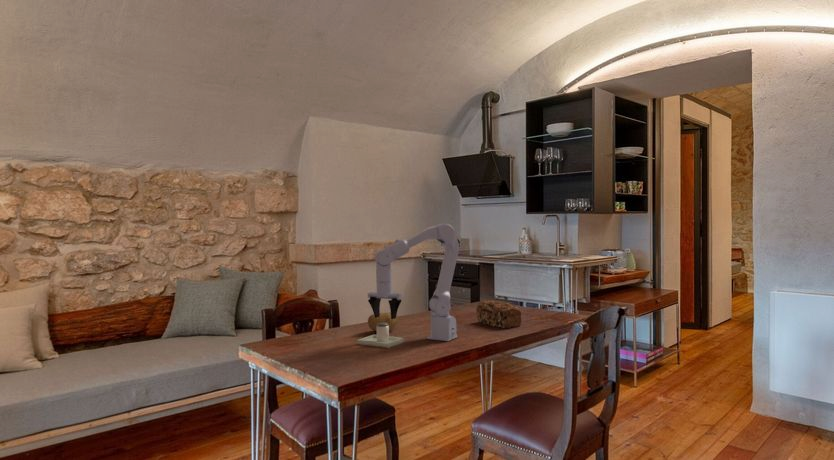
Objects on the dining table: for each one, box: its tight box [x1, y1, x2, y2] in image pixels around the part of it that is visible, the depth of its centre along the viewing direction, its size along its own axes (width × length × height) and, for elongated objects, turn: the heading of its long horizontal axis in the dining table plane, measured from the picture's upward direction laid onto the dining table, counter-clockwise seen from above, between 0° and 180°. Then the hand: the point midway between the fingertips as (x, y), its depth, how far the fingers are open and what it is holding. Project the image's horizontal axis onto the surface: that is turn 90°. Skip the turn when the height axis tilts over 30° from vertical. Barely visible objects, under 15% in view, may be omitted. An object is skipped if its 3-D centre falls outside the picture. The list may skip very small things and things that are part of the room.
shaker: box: [376, 323, 390, 343], centre depth 186 cm, size 5×5×7 cm
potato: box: [367, 311, 399, 332], centre depth 206 cm, size 10×14×8 cm
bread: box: [475, 299, 522, 329], centre depth 216 cm, size 19×11×10 cm, turn 30°
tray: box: [357, 334, 405, 349], centre depth 186 cm, size 14×10×2 cm
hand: (385, 317), depth 187 cm, fingers open, 7 cm apart
